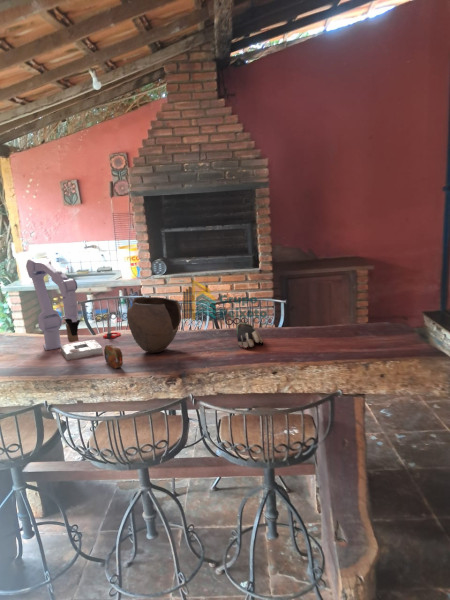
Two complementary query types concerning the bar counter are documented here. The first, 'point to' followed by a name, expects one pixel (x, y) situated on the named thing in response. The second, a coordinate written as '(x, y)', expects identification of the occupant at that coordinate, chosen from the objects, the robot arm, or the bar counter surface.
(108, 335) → the tow hook
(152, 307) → the clay pot
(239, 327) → the glove
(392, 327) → the bar counter surface
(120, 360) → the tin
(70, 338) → the pin
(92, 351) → the collar
